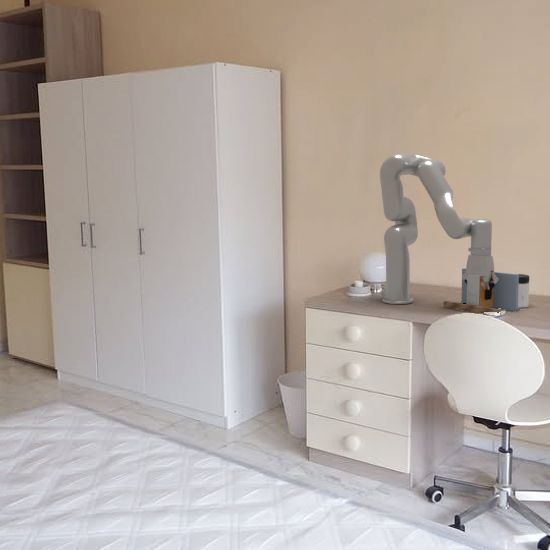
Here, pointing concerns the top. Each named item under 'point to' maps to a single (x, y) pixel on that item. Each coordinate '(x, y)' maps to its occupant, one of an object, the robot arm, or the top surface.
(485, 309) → the cleat ledge
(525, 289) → the jar
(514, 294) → the wall board
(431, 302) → the top surface
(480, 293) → the small box
